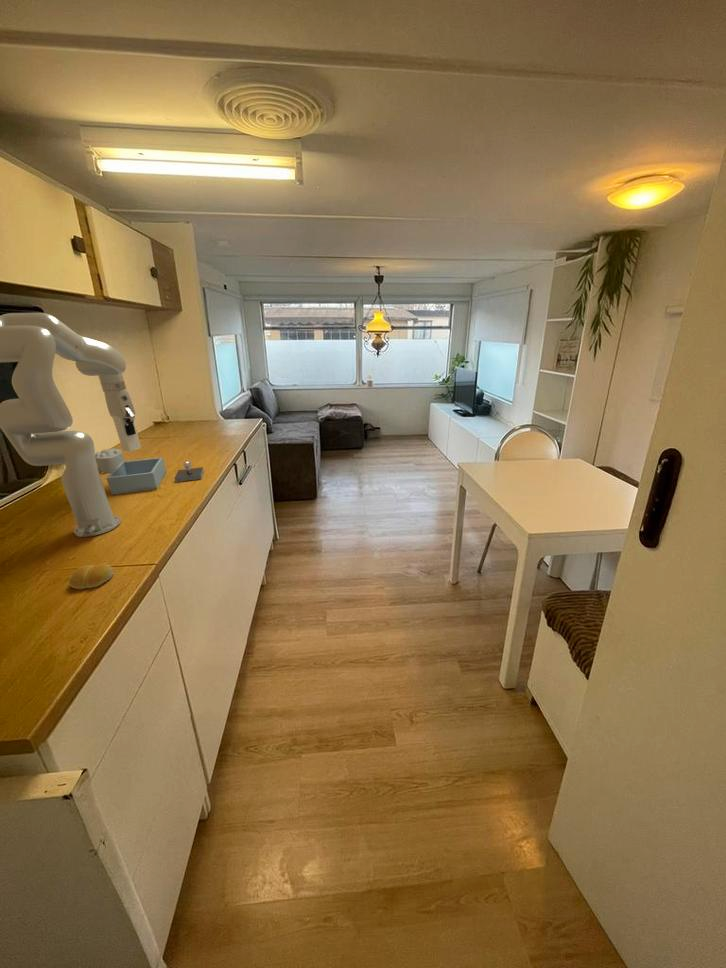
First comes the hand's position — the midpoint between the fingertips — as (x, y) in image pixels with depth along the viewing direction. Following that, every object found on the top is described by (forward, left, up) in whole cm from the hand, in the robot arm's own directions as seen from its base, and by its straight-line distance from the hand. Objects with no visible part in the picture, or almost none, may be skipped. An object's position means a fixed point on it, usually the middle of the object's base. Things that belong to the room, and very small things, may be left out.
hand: (127, 433), depth 147 cm
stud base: (0, -19, -21) cm, 28 cm away
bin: (0, 0, -21) cm, 21 cm away
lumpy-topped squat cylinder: (+24, +17, -21) cm, 37 cm away
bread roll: (-70, -4, -21) cm, 73 cm away
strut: (0, 0, -6) cm, 6 cm away
